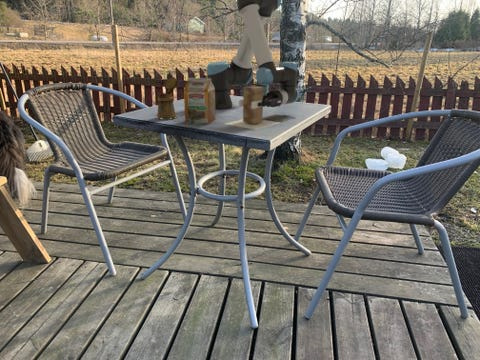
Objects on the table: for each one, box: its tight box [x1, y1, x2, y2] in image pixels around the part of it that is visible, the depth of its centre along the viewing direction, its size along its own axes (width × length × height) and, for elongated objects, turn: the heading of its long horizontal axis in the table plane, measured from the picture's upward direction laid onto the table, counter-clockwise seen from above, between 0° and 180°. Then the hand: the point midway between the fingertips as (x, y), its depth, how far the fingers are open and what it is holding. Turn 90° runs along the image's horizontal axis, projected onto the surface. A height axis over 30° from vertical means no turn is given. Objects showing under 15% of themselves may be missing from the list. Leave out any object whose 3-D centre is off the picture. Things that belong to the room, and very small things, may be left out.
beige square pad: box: [224, 118, 281, 131], centre depth 164 cm, size 18×18×1 cm
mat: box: [262, 114, 297, 123], centre depth 175 cm, size 12×12×1 cm
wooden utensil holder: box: [156, 76, 178, 119], centre depth 173 cm, size 9×14×18 cm, turn 162°
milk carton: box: [183, 77, 216, 125], centre depth 163 cm, size 11×11×19 cm
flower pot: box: [253, 84, 270, 96], centre depth 222 cm, size 9×9×9 cm
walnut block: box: [242, 85, 264, 124], centre depth 161 cm, size 6×6×15 cm
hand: (245, 104), depth 157 cm, fingers closed on walnut block, 6 cm apart
